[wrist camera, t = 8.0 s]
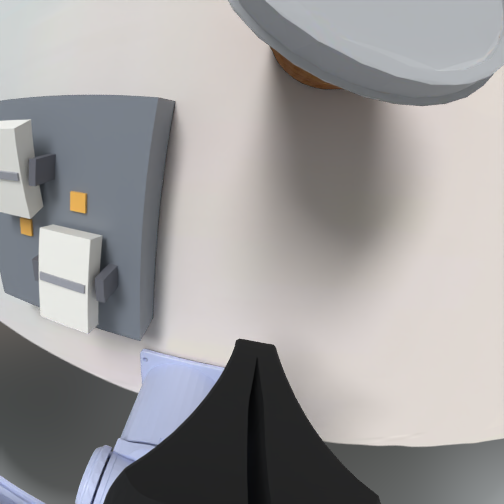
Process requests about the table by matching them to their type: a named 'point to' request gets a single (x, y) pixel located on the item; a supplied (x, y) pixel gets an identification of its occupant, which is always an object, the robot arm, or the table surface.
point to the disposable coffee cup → (384, 45)
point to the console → (94, 196)
